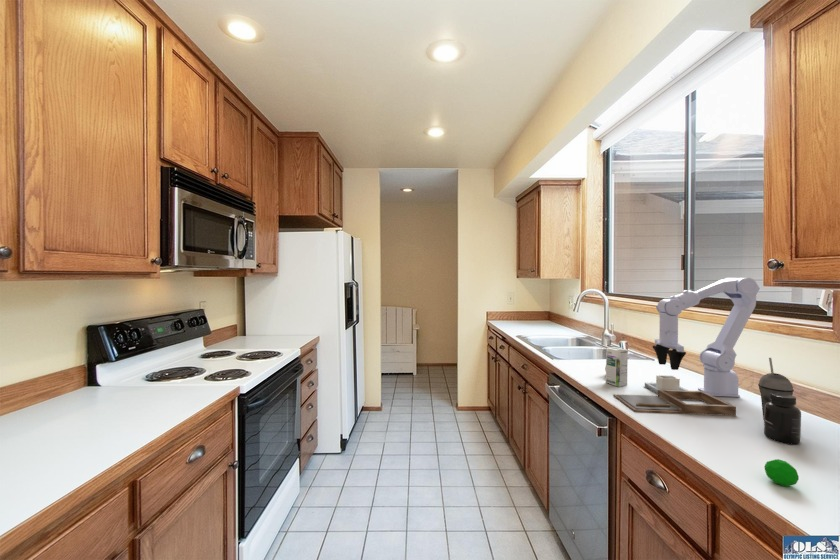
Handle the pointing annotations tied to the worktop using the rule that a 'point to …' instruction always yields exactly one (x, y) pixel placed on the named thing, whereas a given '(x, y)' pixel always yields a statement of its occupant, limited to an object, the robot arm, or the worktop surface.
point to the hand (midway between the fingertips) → (668, 366)
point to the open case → (677, 403)
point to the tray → (653, 388)
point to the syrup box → (616, 366)
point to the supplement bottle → (782, 419)
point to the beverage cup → (773, 386)
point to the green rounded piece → (781, 472)
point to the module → (667, 383)
